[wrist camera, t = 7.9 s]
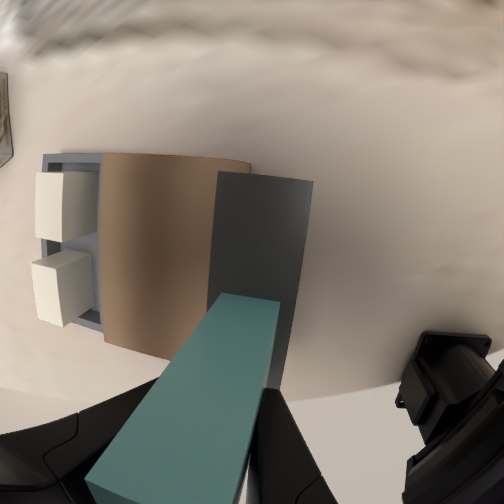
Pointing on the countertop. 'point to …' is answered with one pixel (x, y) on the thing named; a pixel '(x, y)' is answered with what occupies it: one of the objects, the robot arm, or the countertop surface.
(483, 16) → the countertop surface
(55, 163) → the box
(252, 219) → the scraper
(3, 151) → the coffee box
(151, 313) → the walnut board
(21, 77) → the countertop surface
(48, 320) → the tile
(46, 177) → the tile
